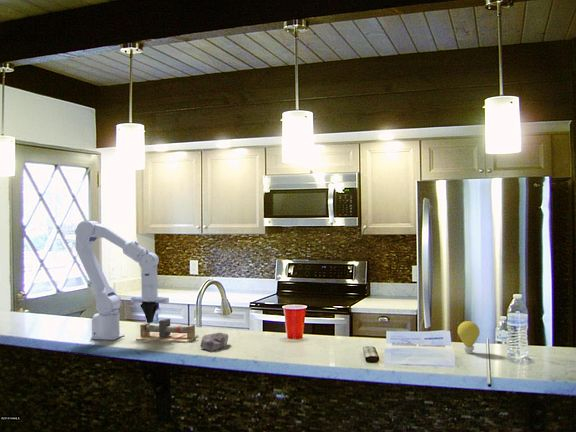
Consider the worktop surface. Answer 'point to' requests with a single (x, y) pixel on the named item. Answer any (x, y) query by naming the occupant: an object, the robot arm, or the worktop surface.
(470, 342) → the light bulb
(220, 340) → the rock
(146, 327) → the pipe rig
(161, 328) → the collar
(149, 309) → the robot arm
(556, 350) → the worktop surface
